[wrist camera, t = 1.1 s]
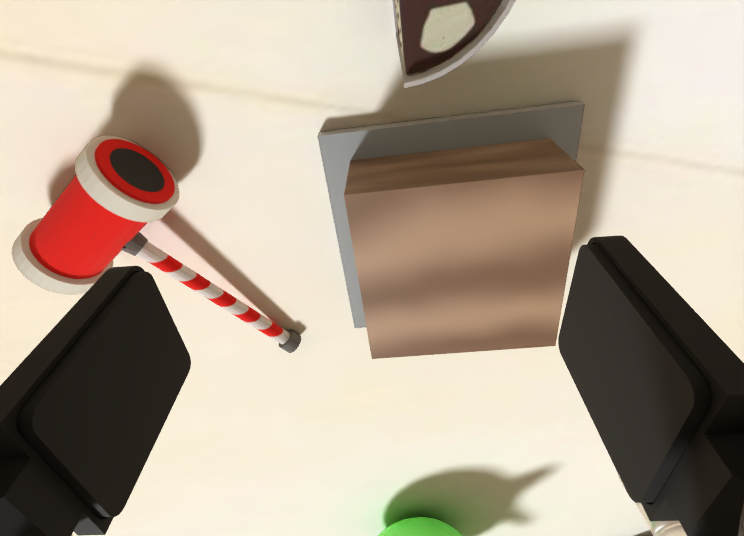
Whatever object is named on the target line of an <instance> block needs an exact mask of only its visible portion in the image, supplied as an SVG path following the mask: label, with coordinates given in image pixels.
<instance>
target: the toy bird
mask: <svg viewBox="0 0 744 536" xmlns="http://www.w3.org/2000/svg"><path fill="white" fill-rule="evenodd" d="M379 536H462V535H461V534H460V533H459V532H458V531H457V530H456V529H454V528H453V527H452V526H450V525H448V524H446V523H444V522H442V521H440V520H437V519H433V518H427V517H413V518H408V519H404V520H401V521H398V522H396V523H394V524H392V525H391V526H389V527H388V528H386V529H385V530H384V531H383V532H381V533H380V534H379Z"/></svg>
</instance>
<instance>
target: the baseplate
mask: <svg viewBox="0 0 744 536" xmlns="http://www.w3.org/2000/svg"><path fill="white" fill-rule="evenodd" d="M583 111H584V104H583V103H581V102H579V101H575V102H567V103H558V104H550V105H541V106H533V107H525V108H516V109H508V110H499V111H491V112H483V113H474V114H466V115H457V116H449V117H440V118H432V119H424V120H415V121H407V122H398V123H390V124H382V125H373V126H365V127H356V128H348V129H339V130H331V131H323V132H319V134H318V140H319V146H320V151H321V156H322V161H323V166H324V171H325V177H326V182H327V187H328V192H329V197H330V202H331V208H332V213H333V218H334V223H335V228H336V233H337V239H338V244H339V249H340V254H341V259H342V264H343V270H344V275H345V280H346V285H347V290H348V295H349V301H350V306H351V311H352V316H353V321H354V326H355V328H362V327H367V326H366V321H365V315H364V309H363V303H362V297H361V292H360V286H359V280H358V274H357V268H356V263H355V257H354V251H353V245H352V239H351V234H350V228H349V222H348V216H347V210H346V205H345V199H344V192H345V186H346V181H347V175H348V170H349V165H350V160H359V159H368V158H377V157H386V156H395V155H404V154H413V153H422V152H431V151H439V150H448V149H457V148H466V147H475V146H484V145H493V144H502V143H511V142H520V141H529V140H537V139H546V138H550V139H551V140H553V141H554V142H555V143H556V144H557V145H558V146H559V147H560V148H561V149H562V150H563V151H564V152H566V153H567V154H568V155H569V156H570V157H571V158H572V159H573V160H574V161H575V162H576V157H577V150H578V144H579V137H580V131H581V124H582V117H583Z"/></svg>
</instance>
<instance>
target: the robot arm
mask: <svg viewBox="0 0 744 536" xmlns="http://www.w3.org/2000/svg"><path fill="white" fill-rule="evenodd" d="M558 341H559V349H560V353H561V355H562V357H563V359H564V362H565V364H566V366H567V368H568V370H569V372H570V374H571V376H572V378H573V380H574V382H575V384H576V387H577V389H578V391H579V393H580V395H581V397H582V399H583V401H584V403H585V405H586V407H587V409H588V412H589V414H590V416H591V418H592V420H593V422H594V424H595V426H596V428H597V430H598V432H599V434H600V437H601V439H602V441H603V443H604V445H605V447H606V449H607V451H608V453H609V455H610V457H611V459H612V462H613V464H614V466H615V468H616V470H617V472H618V474H619V476H620V478H621V480H622V482H623V485H624V487H625V489H626V491H627V493H628V494H629V496H630V498H631V499H632V500H633V501H634V502H636V503H641V504H642V506H643V508H644V510H645V512H646V514H647V516H648V518H649V520H650V521H679V522H680V524H681V526H682V528H683V529H684V531H685V533H686V535H687V536H744V363H743V362H742V361H741V360H740V359H739V358H738V357H737V356H736V355H735V354H734V352H733V351H732V350H731V349H730V348H729V347H728V346H727V345H726V344H725V343H724V342H723V341H722V340H721V339H720V338H719V336H718V335H717V334H716V333H715V332H714V331H713V330H712V329H711V328H710V327H709V326H708V325H707V324H706V323H705V322H704V320H703V319H702V318H701V317H700V316H699V315H698V314H697V313H696V312H695V311H694V310H693V309H692V308H691V307H690V306H689V304H688V303H687V302H686V301H685V300H684V299H683V298H682V297H681V296H680V295H679V294H678V293H677V292H676V291H675V290H674V289H673V287H672V286H671V285H670V284H669V283H668V282H667V281H666V280H665V279H664V278H663V277H662V276H661V275H660V274H659V273H658V271H657V270H656V269H655V268H654V267H653V266H652V265H651V264H650V263H649V262H648V261H647V260H646V259H645V258H644V257H643V255H642V254H641V253H640V252H639V251H638V250H637V249H636V248H635V247H634V246H633V245H632V244H631V243H630V242H629V241H628V239H627V238H625V237H624V236H606V237H593V238H591V239H590V240H589V242H588V244H587V245H582V246H581V247H580V250H579V253H578V257H577V261H576V266H575V270H574V274H573V278H572V283H571V287H570V291H569V295H568V300H567V304H566V308H565V313H564V317H563V321H562V325H561V330H560V334H559V340H558ZM190 366H191V360H190V356H189V353H188V351H187V349H186V347H185V345H184V342H183V340H182V338H181V336H180V334H179V332H178V330H177V328H176V325H175V323H174V321H173V319H172V317H171V315H170V313H169V311H168V308H167V306H166V304H165V302H164V300H163V298H162V296H161V293H160V291H159V289H158V287H157V285H156V283H155V281H154V279H153V277H152V275H151V274H150V273H149V272H145V271H144V270H143V269H142V268H141V267H139V266H127V267H113V268H109V269H108V270H107V271H105V273H104V274H103V275H102V276H101V277H100V278H99V279H98V280H97V281H96V282H95V283H94V285H93V286H92V287H91V288H90V289H89V290H88V291H87V292H86V293H85V294H84V295H83V297H82V298H81V299H80V300H79V301H78V302H77V303H76V304H75V305H74V306H73V307H72V308H71V310H70V311H69V312H68V313H67V314H66V315H65V316H64V317H63V318H62V319H61V320H60V322H59V323H58V324H57V325H56V326H55V327H54V328H53V329H52V330H51V331H50V332H49V333H48V335H47V336H46V337H45V338H44V339H43V340H42V341H41V342H40V343H39V344H38V345H37V347H36V348H35V349H34V350H33V351H32V352H31V353H30V354H29V355H28V356H27V357H26V358H25V360H24V361H23V362H22V363H21V364H20V365H19V366H18V367H17V368H16V369H15V370H14V372H13V373H12V374H11V375H10V376H9V377H8V378H7V379H6V380H5V381H4V382H3V383H2V385H1V386H0V536H71V535H72V533H73V531H74V532H75V533H76V534H77V535H105V534H106V532H107V530H108V528H109V526H110V524H111V521H112V519H113V517H115V516H117V515H119V514H120V513H121V511H122V510H123V508H124V507H125V505H126V503H127V501H128V498H129V496H130V494H131V492H132V490H133V488H134V486H135V484H136V482H137V480H138V477H139V475H140V473H141V471H142V469H143V467H144V465H145V463H146V461H147V459H148V457H149V454H150V452H151V450H152V448H153V446H154V444H155V442H156V440H157V438H158V436H159V434H160V431H161V429H162V427H163V425H164V423H165V421H166V419H167V417H168V415H169V413H170V410H171V408H172V406H173V404H174V402H175V400H176V398H177V396H178V394H179V392H180V390H181V387H182V385H183V383H184V381H185V379H186V377H187V375H188V373H189V370H190Z"/></svg>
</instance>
